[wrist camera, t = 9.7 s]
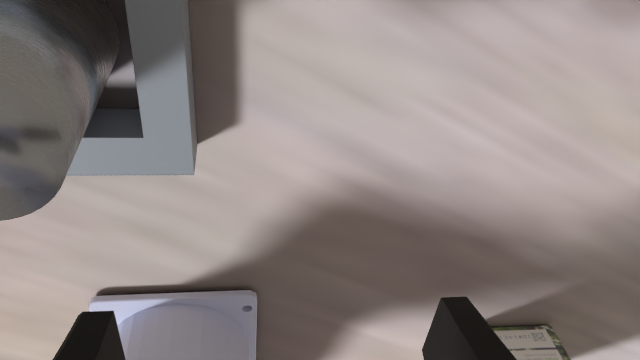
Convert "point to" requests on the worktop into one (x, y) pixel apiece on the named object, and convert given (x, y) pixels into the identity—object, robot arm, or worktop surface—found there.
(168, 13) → the jig
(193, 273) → the worktop surface
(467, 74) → the worktop surface
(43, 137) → the cylinder
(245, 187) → the worktop surface
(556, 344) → the syrup box
